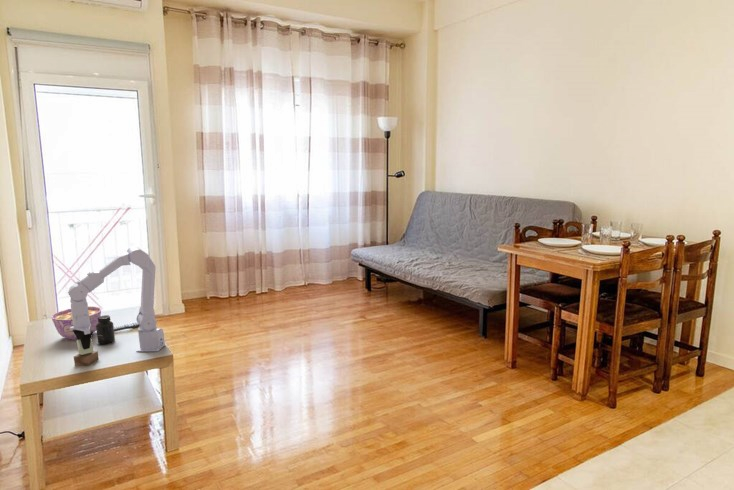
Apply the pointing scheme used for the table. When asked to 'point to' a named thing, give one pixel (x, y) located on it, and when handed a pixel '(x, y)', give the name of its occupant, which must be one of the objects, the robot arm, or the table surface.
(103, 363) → the table surface
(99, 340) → the supplement bottle
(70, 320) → the bowl of food
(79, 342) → the sage block
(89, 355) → the walnut block
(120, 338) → the table surface
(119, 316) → the table surface
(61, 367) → the table surface
